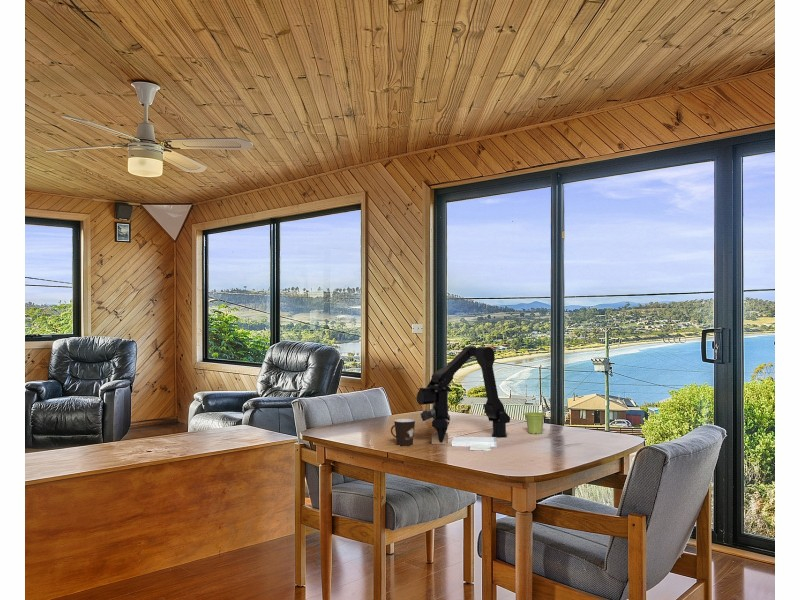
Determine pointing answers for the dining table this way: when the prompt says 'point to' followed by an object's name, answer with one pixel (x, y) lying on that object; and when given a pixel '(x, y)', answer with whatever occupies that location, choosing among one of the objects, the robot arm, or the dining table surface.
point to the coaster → (480, 447)
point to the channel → (474, 441)
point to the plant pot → (534, 422)
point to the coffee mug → (404, 431)
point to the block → (436, 439)
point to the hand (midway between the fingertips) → (441, 441)
